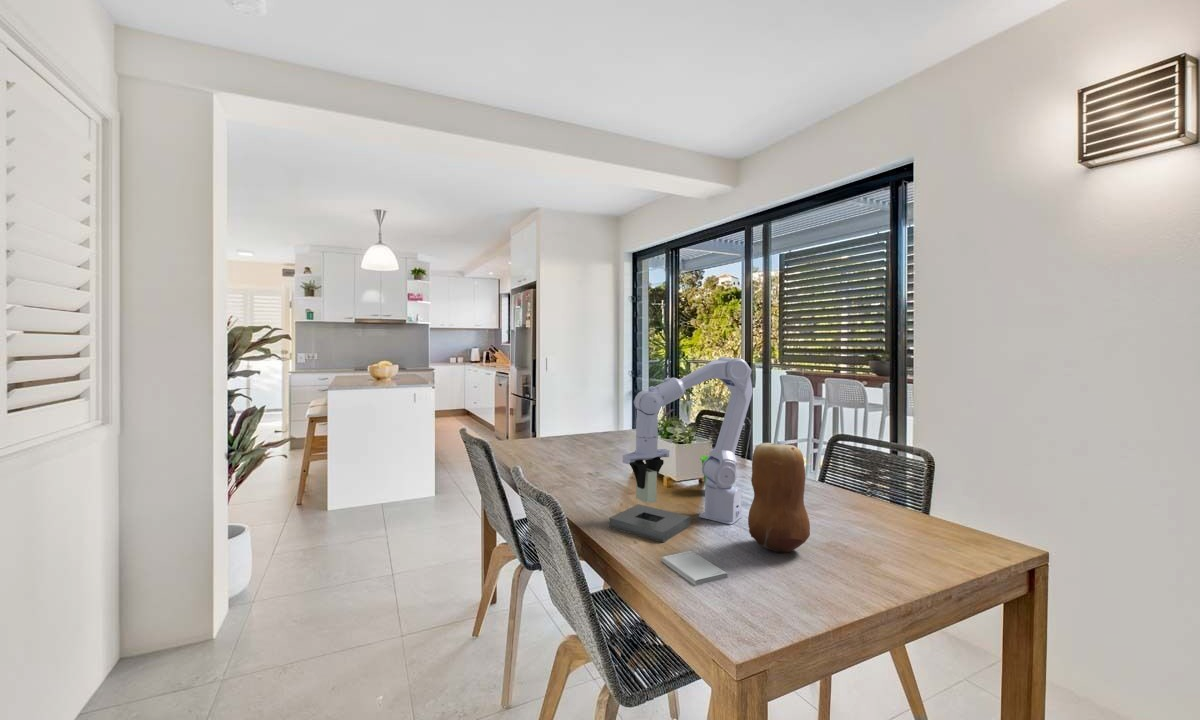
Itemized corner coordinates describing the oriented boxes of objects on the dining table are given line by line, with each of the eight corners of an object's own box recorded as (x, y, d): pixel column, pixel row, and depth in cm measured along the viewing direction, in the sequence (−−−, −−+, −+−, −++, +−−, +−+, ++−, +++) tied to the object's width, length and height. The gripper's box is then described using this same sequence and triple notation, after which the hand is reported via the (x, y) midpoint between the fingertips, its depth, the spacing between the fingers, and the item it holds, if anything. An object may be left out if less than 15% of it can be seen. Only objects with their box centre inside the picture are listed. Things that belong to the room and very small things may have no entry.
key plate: (689, 525, 134) (690, 516, 134) (663, 542, 123) (663, 532, 123) (638, 512, 144) (638, 504, 144) (609, 527, 132) (609, 517, 132)
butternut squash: (781, 535, 128) (783, 436, 127) (822, 556, 116) (825, 447, 115) (735, 542, 123) (737, 439, 122) (772, 566, 111) (775, 451, 110)
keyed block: (644, 496, 140) (645, 466, 139) (656, 501, 136) (656, 470, 135) (635, 498, 138) (636, 467, 138) (647, 503, 134) (648, 472, 134)
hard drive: (728, 572, 105) (692, 549, 116) (695, 580, 102) (661, 556, 113) (727, 580, 105) (691, 556, 116) (695, 588, 102) (661, 563, 113)
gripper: (657, 431, 144) (657, 479, 144) (615, 436, 135) (615, 487, 136) (674, 435, 138) (674, 485, 138) (632, 441, 130) (631, 493, 130)
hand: (646, 486), depth 137 cm, fingers closed on keyed block, 3 cm apart
